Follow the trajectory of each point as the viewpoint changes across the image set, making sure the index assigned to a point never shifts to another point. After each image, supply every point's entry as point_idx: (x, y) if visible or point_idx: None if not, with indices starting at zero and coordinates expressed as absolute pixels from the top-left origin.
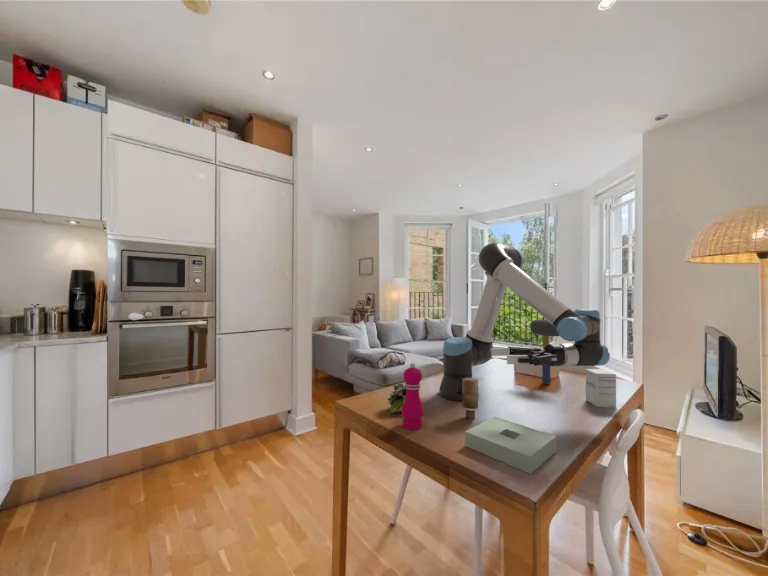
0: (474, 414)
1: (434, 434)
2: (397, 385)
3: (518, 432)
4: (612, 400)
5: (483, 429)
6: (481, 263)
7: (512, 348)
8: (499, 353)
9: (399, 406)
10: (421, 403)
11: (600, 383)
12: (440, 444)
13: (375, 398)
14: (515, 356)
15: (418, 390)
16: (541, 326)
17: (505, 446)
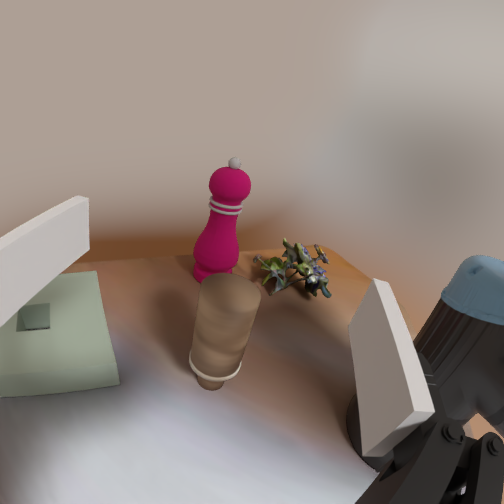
0: (201, 377)
1: (162, 283)
2: (322, 252)
3: (23, 333)
4: None
5: (80, 295)
6: None
7: (424, 451)
8: (363, 358)
9: (265, 262)
10: (210, 244)
11: None
12: (126, 273)
13: (349, 280)
14: (42, 220)
15: (214, 214)
16: None
17: None
